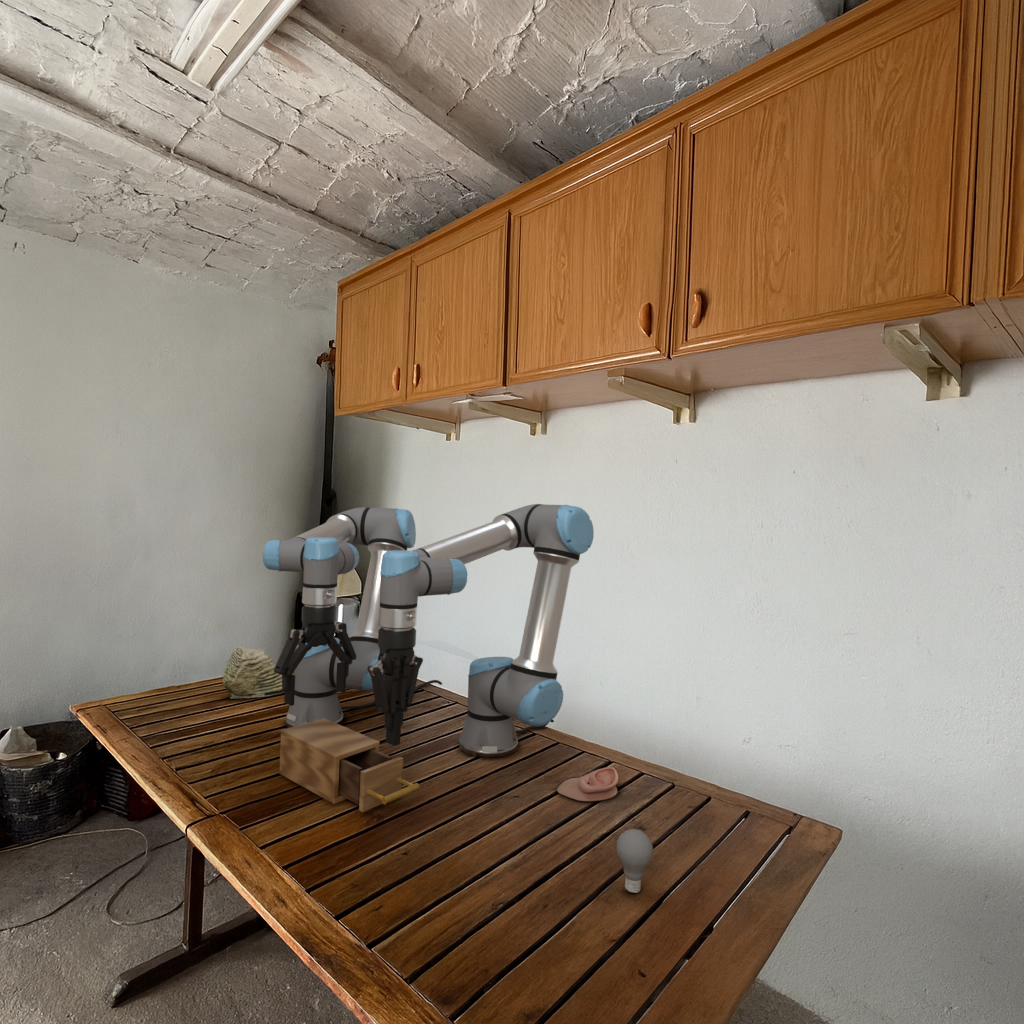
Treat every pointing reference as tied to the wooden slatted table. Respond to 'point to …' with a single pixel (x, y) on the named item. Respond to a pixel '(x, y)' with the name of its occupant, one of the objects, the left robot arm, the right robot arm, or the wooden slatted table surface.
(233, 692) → the fossil
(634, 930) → the wooden slatted table surface
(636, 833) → the light bulb
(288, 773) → the cabinet
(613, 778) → the anatomical model
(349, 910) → the wooden slatted table surface
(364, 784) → the drawer
